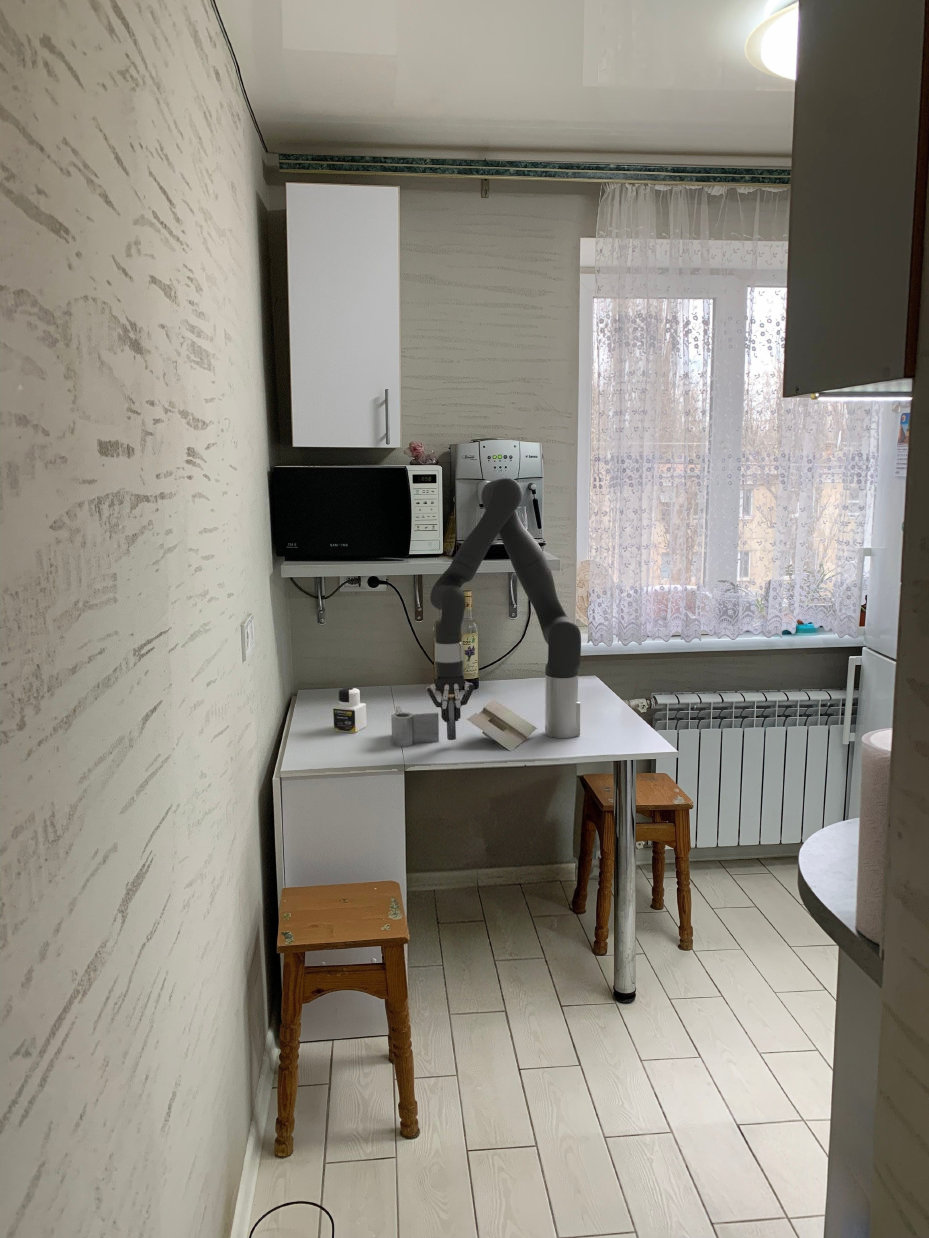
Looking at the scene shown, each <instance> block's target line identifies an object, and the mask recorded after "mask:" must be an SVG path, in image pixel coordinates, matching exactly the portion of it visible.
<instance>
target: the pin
mask: <svg viewBox="0 0 929 1238" xmlns="http://www.w3.org/2000/svg"><path fill="white" fill-rule="evenodd" d="M446 708H447V711H448V722H446V739H447V740H448V741H454V740H456V739H457V729H456V728H457V727H456V726H457V724H456V723H457V721H456V720H455V694H448V700H447V707H446Z"/></svg>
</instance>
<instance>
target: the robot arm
mask: <svg viewBox="0 0 929 1238" xmlns="http://www.w3.org/2000/svg"><path fill="white" fill-rule="evenodd" d="M480 496H481V503H482V505H483V508H484V509H485V511H484V512H483V514H482V517H481V518H480V519H479V521H478V522H477V524H476V525H475V526H474V528H473V529H472V530H471V532H470V533H469V534H468V535H467V537H466V538H465V539H464V541H463V542H462V543H461V545H460V546H459V548H458V550H457V551H456V553H455V555H454V557H453V558H452V561H451V563H450V565H449V567H448V568H447V569H446V570H445V571H444V572H443V573H442V575H440V577H439V578H438V580H436V582H435V583H434V585H433V587H432V588H431V591H430V596H429V601H430V603H431V605H432V607H434V608H435V609H438V610H441V617H440V620H438V621H437V622H436V623H435V625H434V626H435V629H434V633H435V634H434V635H435V645H434V646H435V647H434V658H435V659H434V660H435V667H434V668H435V679H434V681H433V684H431V685H428V686H426V687H425V690H426V692H427V694H428V696H429V698H430V699H431V701H432V703H433V705H434V706H435V707H436V708H440V709H441V713H440V714H441V715H440V718H441V719H442V721H444V722H445V723H447V722H448V711H447V708H446V707H447V700H448V694H455V720H456V722H458V721H459V720H460V719H461V712H462V711H461V708H462V706H466V705H467V704H468V702H469V700H470V697H471V696H472V694H473V692H474V689H475V685H474V684H473V683H472V682H468V681H466V679H465V675H464V658H465V657H464V649H463V642H462V640H463V639H462V638H463V637H462V625H463V624H462V623H463V620H464V615H465V610H466V596H465V592H464V591H463V590H462V586H463V585H464V584H466V583H469V582H471V581H472V580H473V579H474V576H475V575H476V573H477V571H478V569H479V568H480V566H481V564H482V562H483V560H484V558H485V557H486V555H487V553H488V551H489V549H490V547H491V546H492V544H493V543H494V541H495V540H496V538H497V536H498V534H499V537H500V539H501V541H502V544H503V546H504V549H505V550H506V553H507V556H508V558H509V561H510V562H511V564H512V567H513V570H514V572H515V574H516V576H517V578H518V581H519V583H520V585H521V587H522V589H523V590H524V593H525V594H526V596H527V598H528V600H529V601H530V603H531V605H532V607H533V609H534V612H535V614H536V617H537V620H538V623H539V626H540V629H541V632H542V633H541V634H542V636H543V638H544V639H543V640H544V641H545V643H546V644H547V646H548V647H547V648H548V649H547V663H546V664H545V672H544V673H545V674H544V675H545V679H544V680H545V681H544V682H545V685H544V688H545V690H544V691H545V693H544V695H545V696H544V697H545V699H544V700H545V701H544V704H545V706H544V713H545V714H544V720H545V722H544V732H545V733H544V734H545V735H546V736H547V737H549V738H550V737H551V738H556V739H568V738H569V739H570V738H575V737H578V736H581V702H580V701H579V669H580V666H581V660H582V659H581V658H582V657H581V654H582V633H581V629H580V628H579V626H578V625H577V624H576V623H575V622H573V621H572V620H571V619H570V617H568V615H567V614H566V612H565V610H564V609H563V608H564V607H563V606H562V604H561V603H560V600H559V597H558V595H557V590H556V586H555V581H554V576H553V572H552V569H551V567H550V564H549V562H548V559H547V557H546V555H545V553H544V551H543V549H542V547H541V546H540V545H539V543H538V542H537V541H536V539H535V538H534V537H533V535H532V534H531V533H530V532H529V530H527V529H526V527H525V525H523V522H522V521H521V519H520V517H519V514H518V511H517V509H518V507H519V506H520V505H521V502H522V500H523V490H522V487H521V485H520V483H518V481H516V480H514V478H508V477H505V478H504V477H503V478H499V479H498V478H497V479H494V480H491V481H489V482H487V483H486V484H485V485H484V486H483V488H482V489H481V495H480ZM463 688H464V690H465V691H464V692H463V694H462V697H461V696H460V692H462V690H463ZM436 689H437V691H438V692H439V693H440V701H438V699H437V697H436V695H435V693H436ZM460 697H461V698H460Z"/></svg>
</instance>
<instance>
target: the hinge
mask: <svg viewBox="0 0 929 1238" xmlns="http://www.w3.org/2000/svg"><path fill="white" fill-rule="evenodd" d="M395 712H396V713H393V714H391V716H390V717H391V744H392V745H393V746H395V747H401V748H404V747H410V746H413V745H414V744H422V743H434V742H435V743H436V742H440V739H439V738H440V734H439V733H440V732H439V730H440V729H439V728H440V727H439V725H440V724H439V723H440V722H439V719H440V718H439V712H428V713H425V712H424V713H412V712H406V711H405V712H404V711H403V710H402V708H401V707H400V706H398V705H397V706H395Z"/></svg>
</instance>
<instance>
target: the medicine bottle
mask: <svg viewBox="0 0 929 1238" xmlns="http://www.w3.org/2000/svg"><path fill="white" fill-rule="evenodd" d="M360 693H361V692H360V690H359V689H358V688H356V687H345V688H341V689H340V690H339V691H338V703H339V704H338V705H336V706H333V708H332V710H333V712H332V714H333V731H335V732H341V733H351V734H356V733H357V732H359V731H362V730H363V729H365V728H366V727H367V704H366V703H364V702H361V700H360V697H361V694H360Z"/></svg>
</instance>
